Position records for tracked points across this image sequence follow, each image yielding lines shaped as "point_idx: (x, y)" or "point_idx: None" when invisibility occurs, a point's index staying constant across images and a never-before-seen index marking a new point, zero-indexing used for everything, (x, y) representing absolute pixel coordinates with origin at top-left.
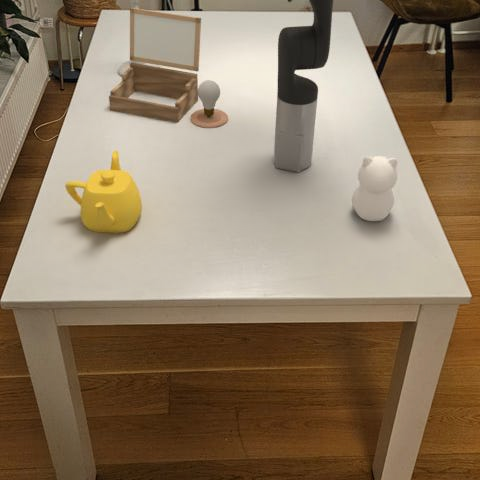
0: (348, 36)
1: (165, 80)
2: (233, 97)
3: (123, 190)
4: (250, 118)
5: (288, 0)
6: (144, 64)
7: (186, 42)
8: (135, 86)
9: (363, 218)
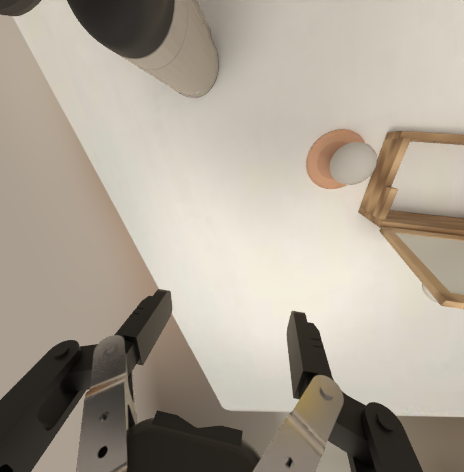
0: (210, 373)
1: (430, 221)
2: (307, 232)
3: None
4: (275, 180)
5: (164, 291)
6: None
7: (438, 261)
8: None
9: None
